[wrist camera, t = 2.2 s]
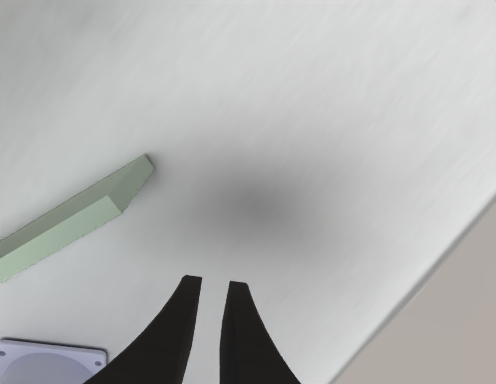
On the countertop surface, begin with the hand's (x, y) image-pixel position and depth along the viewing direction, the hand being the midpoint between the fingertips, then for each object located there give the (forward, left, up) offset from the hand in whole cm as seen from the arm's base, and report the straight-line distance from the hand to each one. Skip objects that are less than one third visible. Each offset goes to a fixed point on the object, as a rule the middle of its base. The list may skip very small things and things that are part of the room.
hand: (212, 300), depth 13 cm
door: (-3, +11, -9) cm, 14 cm away
